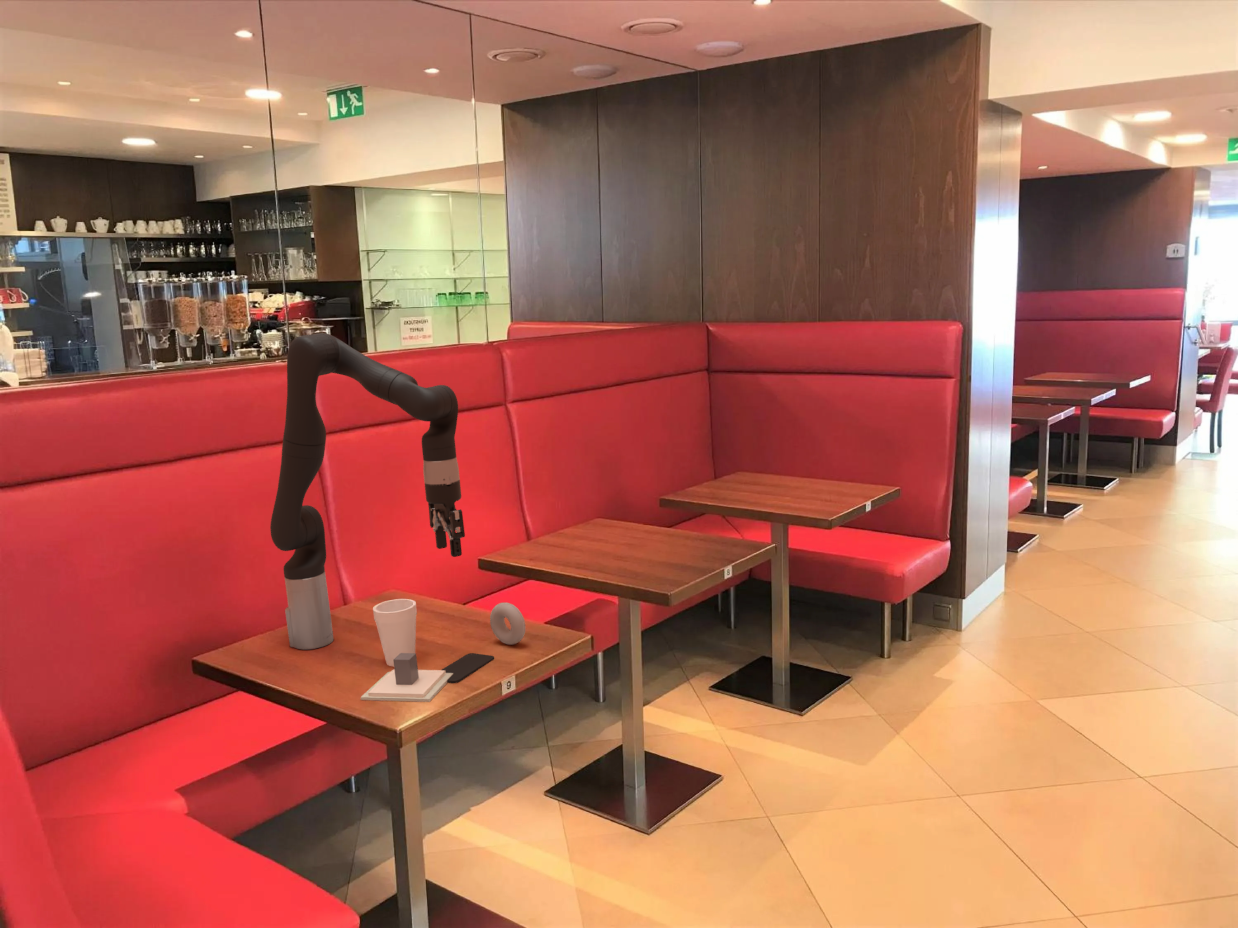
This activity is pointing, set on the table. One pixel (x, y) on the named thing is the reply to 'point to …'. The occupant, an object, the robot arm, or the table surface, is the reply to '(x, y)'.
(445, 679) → the mat
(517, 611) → the donut
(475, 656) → the phone
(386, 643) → the foam cup
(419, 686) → the lid
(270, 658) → the table surface
